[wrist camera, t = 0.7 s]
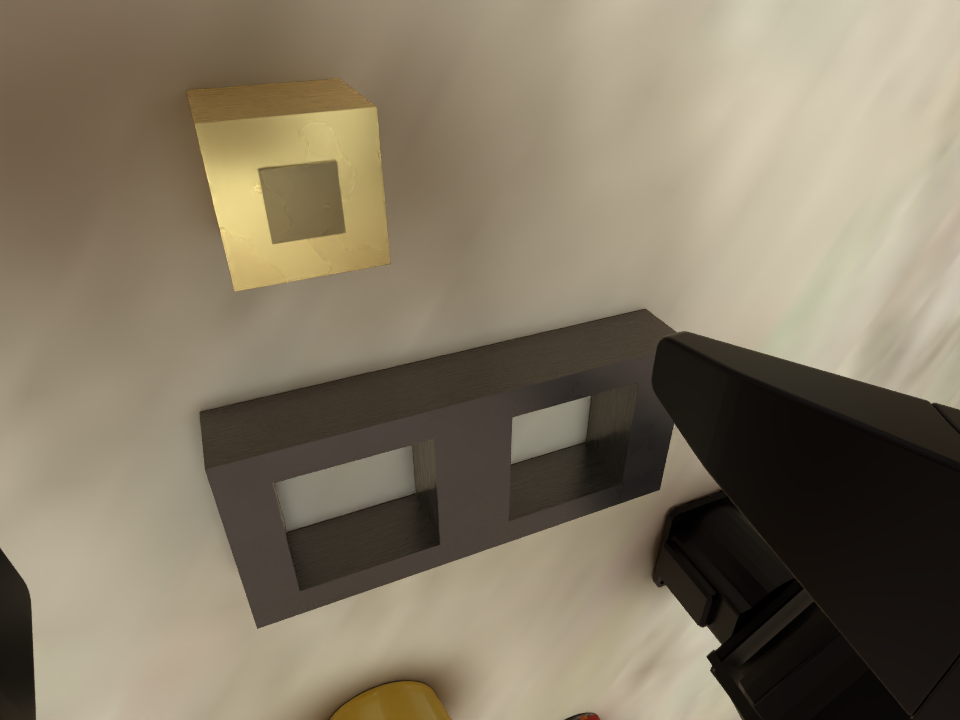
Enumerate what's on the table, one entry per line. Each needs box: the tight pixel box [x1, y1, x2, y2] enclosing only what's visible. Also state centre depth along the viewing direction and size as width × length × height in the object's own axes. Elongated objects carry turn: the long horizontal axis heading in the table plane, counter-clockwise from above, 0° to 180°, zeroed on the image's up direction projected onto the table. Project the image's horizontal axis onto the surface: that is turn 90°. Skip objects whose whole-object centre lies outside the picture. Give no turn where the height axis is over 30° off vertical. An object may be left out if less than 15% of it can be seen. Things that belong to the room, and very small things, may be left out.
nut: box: [187, 79, 390, 291], centre depth 17 cm, size 4×4×4 cm
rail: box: [200, 309, 677, 629], centre depth 25 cm, size 18×8×3 cm, turn 90°
